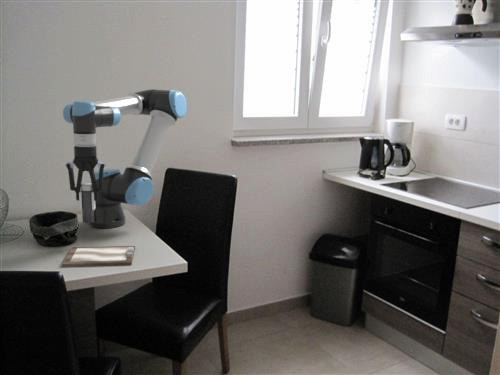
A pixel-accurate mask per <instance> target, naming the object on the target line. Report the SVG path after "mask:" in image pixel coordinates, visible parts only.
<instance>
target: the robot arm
mask: <svg viewBox="0 0 500 375" xmlns="http://www.w3.org/2000/svg"><path fill="white" fill-rule="evenodd" d="M187 105H188V104H187V100H186V97H185V95H184V94H183V93H182V92H181V91H179V90H174V89H171V90H170V89H169V90H166V89H154V88H153V89H146V90H141V91H136V92H135V91H134V92H132V93H131V92H130V93H129V94H127V95H126V96H121V97H115V98H110V99H103V100H97V101H90V100H75V101H73V102H72V103H68V104H66V105H65V106H64V107H63V110H62V116H63V119H64V120H65V122H66V123H69V124H72V125H73V126H72V127H73V128H72V129H73V133H72V134H73V144H74V146H73V154H74V155H73V156H74V158H73V160H72V161H71V162H66V164H65V167H66V168H67V171H68V179H69V180H68V181H69V188H70V191H72V192H75V200H76V201H78V202H79V211H82V192H81V184H82V181H83V174H84V172H88V174H89V178H90V183H91V184H92V186H93V192H92V210H94V222H92V223H88V225H89V226H90V227H92V228H97V229H113V228H119V227H121V226H124V225H125V224H126V222H127V221H126V220H127V219H126V217H127V216H126V214H125V212H124V210H123V206H122V204H126V205H129V206H143V205H145V204H147V203H148V202H149V200H151V198H152V197H153V193H154V182H153V181H152V180H153V176H152V174H151V173H152V171H153V168H154V166H155V163H156V161H157V159H158V157H159V154H160V152H161V149H162V147H163V145H164V142H165V140H166V137H167V135H168V132H169V130H170V128H171V127H172V126H175V124H176V123H177V121H178V119H182V118H184V117H185V115H186V113H187V109H188V108H187V107H188V106H187ZM127 115H132V116H138V115H139V116H140V115H144V116H150V117H151V119H150V122H149V124H148V125H147V128H146V130H145V133H144V135H143V137H142V139H141V141H140V144H139V147H138V148H137V151H136V153H135V155H134V157H133V160H132V162H131V165H130V166H129V165H128V166H126V168H125V169H124V171H123V173H121V172H122V171H121V170H120V169H119V168H109V169H105V166H106V162H101V161H99V159H98V157H97V156H98V154H97V152H98V151H97V146H96V144H97V130H96V129H97V128H106V127H109V128H110V127H115V126H117V125H119V123H120V122H121V119H122V118H121V116H127ZM74 166H75V167H76V168H77V170H78V172H77V178H76V179H77V180H76V184H75V175H74ZM96 166H97V167H98V169H99V170H96V171H95V168H96Z"/></svg>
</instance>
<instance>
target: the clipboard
mask: <svg viewBox="0 0 500 375" xmlns="http://www.w3.org/2000/svg"><path fill="white" fill-rule="evenodd" d="M135 250H136V246H135V245H118V246H117V245H113V246H112V245H110V246H108V245H106V246H72V247H71V249H70V250H69V252H68V254H67V256H66V258H65V259H64V260H63V262H62V267H63V268H65V267H66V268H67V267H96V266H97V267H99V266H101V267H102V266H103V267H104V266H106V267H107V266H132V264H133V259H134V255H135Z"/></svg>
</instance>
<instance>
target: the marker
mask: <svg viewBox="0 0 500 375" xmlns="http://www.w3.org/2000/svg"><path fill="white" fill-rule="evenodd" d="M80 191H81V192H82V210H81V211H82V212H81V213H82V216H81V217H82V223H84V224H89V223H92V222H94V210H92V192H93V186H92V184H91V182H88V183H87V182H86V183H84V182H83V183H81V190H80Z"/></svg>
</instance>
